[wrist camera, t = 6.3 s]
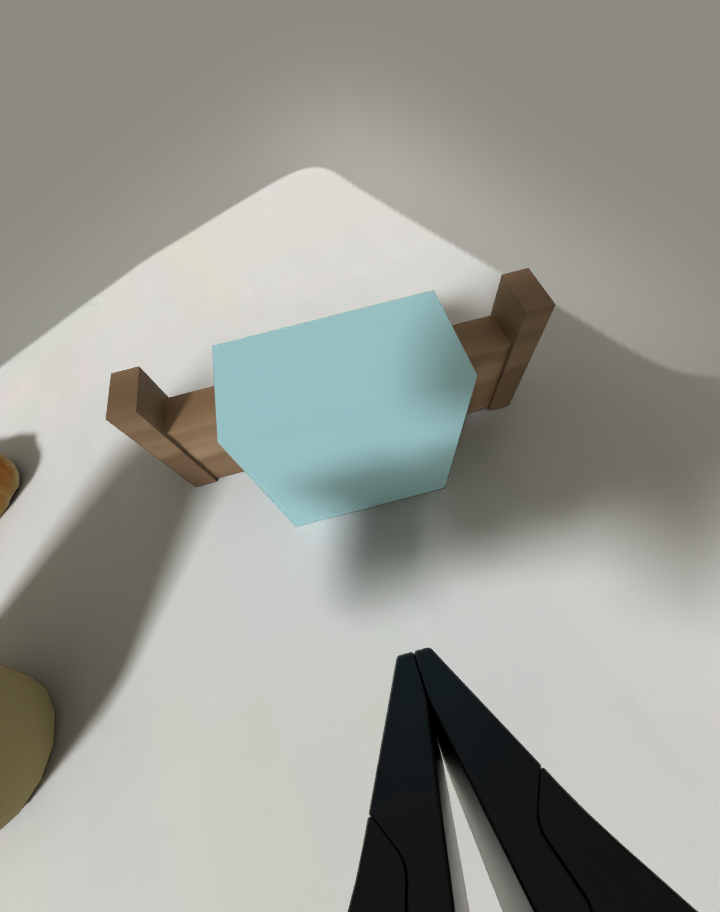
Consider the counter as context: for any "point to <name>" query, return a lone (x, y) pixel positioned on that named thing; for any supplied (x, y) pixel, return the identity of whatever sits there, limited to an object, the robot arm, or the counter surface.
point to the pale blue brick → (345, 407)
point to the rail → (194, 414)
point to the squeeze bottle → (22, 739)
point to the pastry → (7, 482)
